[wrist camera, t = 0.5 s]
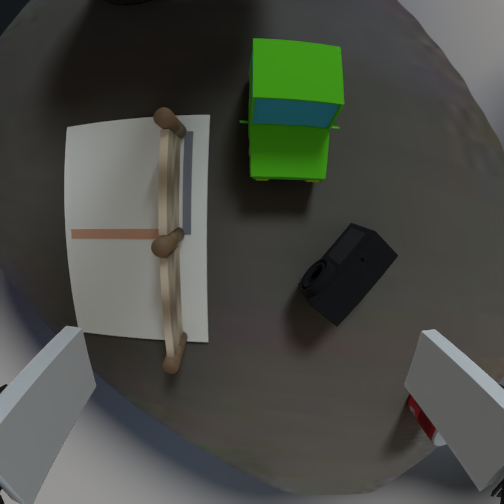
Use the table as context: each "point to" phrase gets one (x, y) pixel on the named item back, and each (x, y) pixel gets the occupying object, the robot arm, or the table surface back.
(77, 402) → the robot arm
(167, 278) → the fence gate
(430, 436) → the canned food
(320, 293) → the digital camera
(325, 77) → the toy car
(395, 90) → the table surface
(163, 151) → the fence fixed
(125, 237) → the card
